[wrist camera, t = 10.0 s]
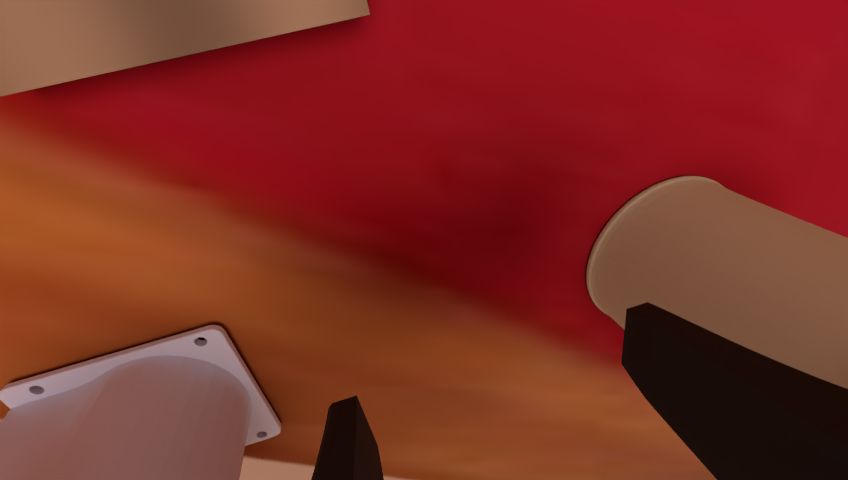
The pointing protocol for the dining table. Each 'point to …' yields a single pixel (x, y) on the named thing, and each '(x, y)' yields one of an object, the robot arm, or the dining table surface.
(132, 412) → the robot arm
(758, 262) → the can
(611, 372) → the dining table surface
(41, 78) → the plinth
